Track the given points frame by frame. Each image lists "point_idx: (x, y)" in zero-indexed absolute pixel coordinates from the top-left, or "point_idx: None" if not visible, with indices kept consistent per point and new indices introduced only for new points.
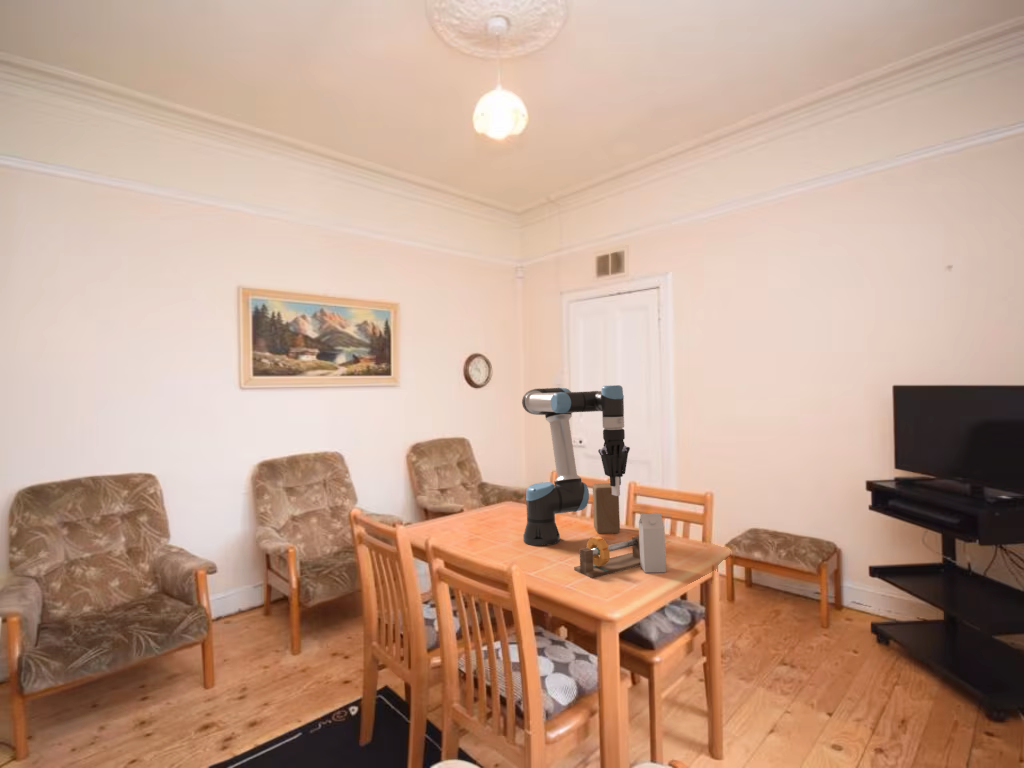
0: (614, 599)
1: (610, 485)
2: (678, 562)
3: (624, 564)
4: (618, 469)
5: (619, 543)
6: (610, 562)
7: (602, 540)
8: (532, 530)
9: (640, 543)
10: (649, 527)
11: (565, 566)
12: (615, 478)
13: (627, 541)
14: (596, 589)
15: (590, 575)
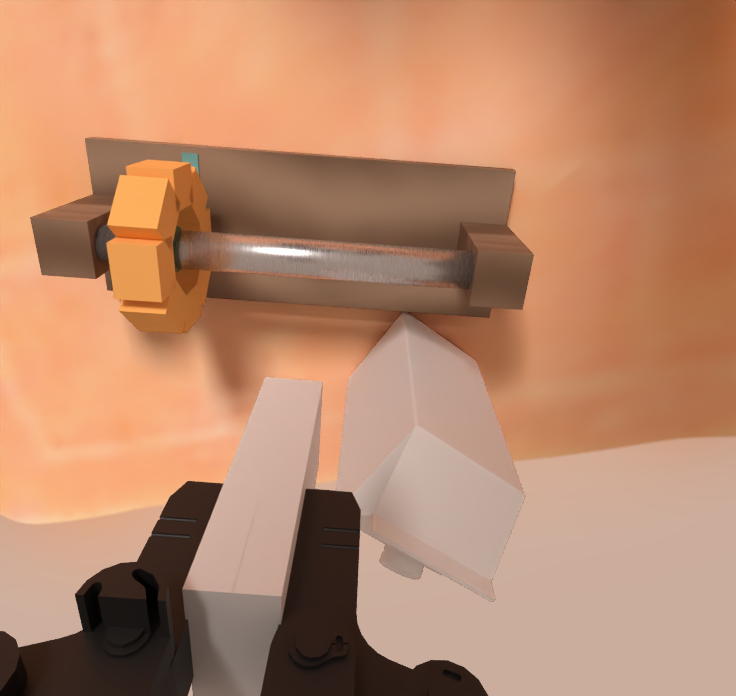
0: (75, 465)
1: (181, 488)
2: (569, 382)
3: (330, 280)
4: None
5: (332, 272)
6: (295, 214)
7: (147, 314)
8: None
9: (390, 384)
10: (368, 533)
11: (77, 51)
12: (199, 661)
13: (400, 276)
14: (64, 374)
15: (106, 272)
